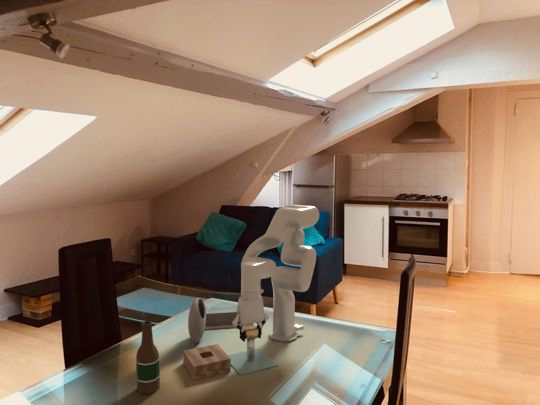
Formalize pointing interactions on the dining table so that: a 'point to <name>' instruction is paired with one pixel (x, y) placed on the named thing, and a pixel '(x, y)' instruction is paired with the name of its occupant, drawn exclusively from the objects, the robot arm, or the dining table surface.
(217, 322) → the hardcover book
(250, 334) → the pin
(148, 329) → the beer bottle
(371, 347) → the dining table surface
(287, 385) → the dining table surface
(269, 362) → the mat
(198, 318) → the planter
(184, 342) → the dining table surface
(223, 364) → the block
